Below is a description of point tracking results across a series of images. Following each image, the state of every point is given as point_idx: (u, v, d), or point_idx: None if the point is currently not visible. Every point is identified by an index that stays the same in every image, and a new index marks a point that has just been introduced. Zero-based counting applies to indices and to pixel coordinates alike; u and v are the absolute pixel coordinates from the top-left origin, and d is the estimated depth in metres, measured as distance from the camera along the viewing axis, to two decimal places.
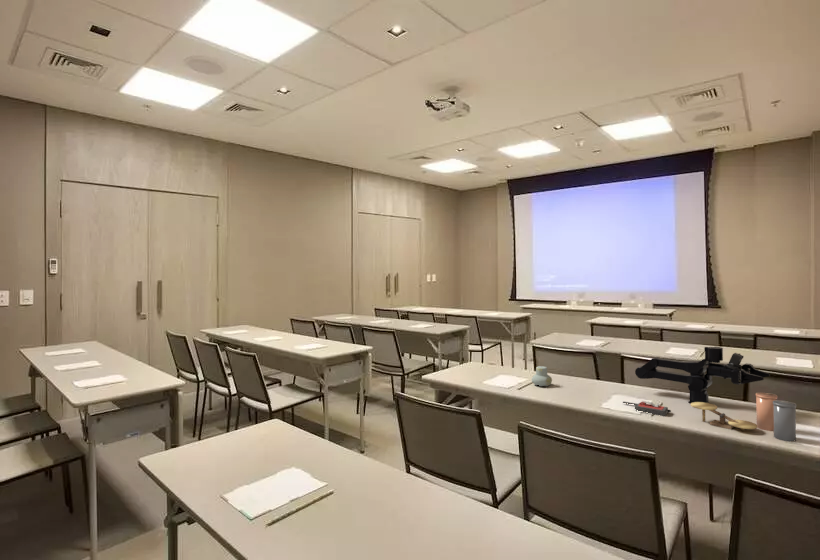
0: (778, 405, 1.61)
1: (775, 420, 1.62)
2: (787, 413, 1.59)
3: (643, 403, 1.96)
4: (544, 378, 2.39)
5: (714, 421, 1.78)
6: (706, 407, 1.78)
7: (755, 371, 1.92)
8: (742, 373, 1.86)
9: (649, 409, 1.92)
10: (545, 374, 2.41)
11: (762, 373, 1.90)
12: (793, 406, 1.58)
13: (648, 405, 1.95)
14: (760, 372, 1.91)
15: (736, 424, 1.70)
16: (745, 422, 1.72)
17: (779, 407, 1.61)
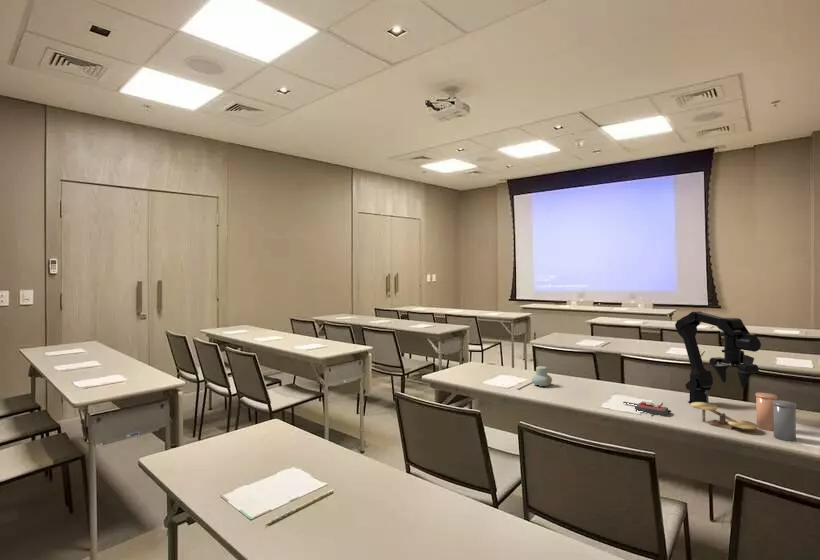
0: (778, 405, 1.61)
1: (775, 420, 1.62)
2: (787, 413, 1.59)
3: (643, 403, 1.96)
4: (544, 378, 2.39)
5: (714, 421, 1.78)
6: (706, 407, 1.78)
7: (724, 370, 1.92)
8: (752, 373, 1.80)
9: (649, 409, 1.92)
10: (545, 374, 2.41)
11: (724, 376, 1.92)
12: (793, 406, 1.58)
13: (648, 405, 1.95)
14: (725, 375, 1.92)
15: (736, 424, 1.70)
16: (745, 422, 1.72)
17: (779, 407, 1.61)
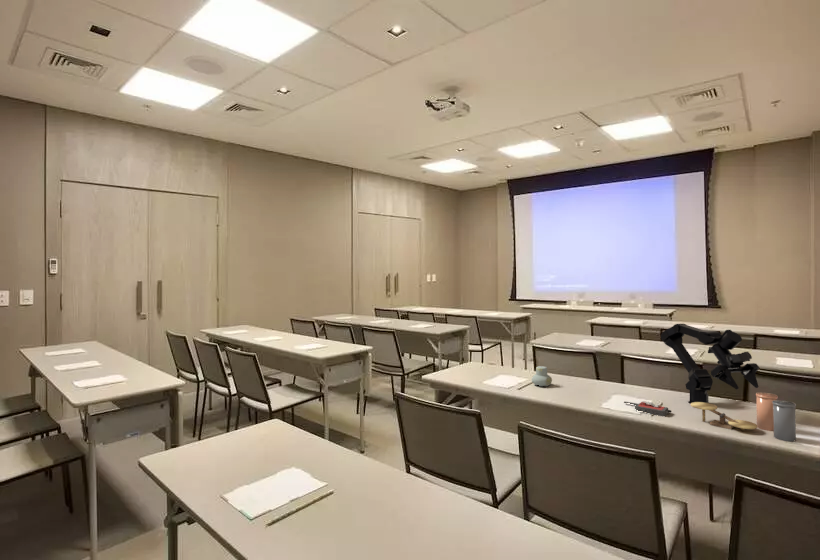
0: (778, 405, 1.61)
1: (775, 420, 1.62)
2: (787, 413, 1.59)
3: (643, 403, 1.96)
4: (544, 378, 2.39)
5: (714, 421, 1.78)
6: (706, 407, 1.78)
7: (751, 376, 1.84)
8: (724, 373, 1.82)
9: (649, 409, 1.92)
10: (545, 374, 2.41)
11: (754, 382, 1.82)
12: (793, 406, 1.59)
13: (648, 405, 1.95)
14: (753, 380, 1.83)
15: (736, 424, 1.70)
16: (745, 422, 1.72)
17: (778, 407, 1.61)
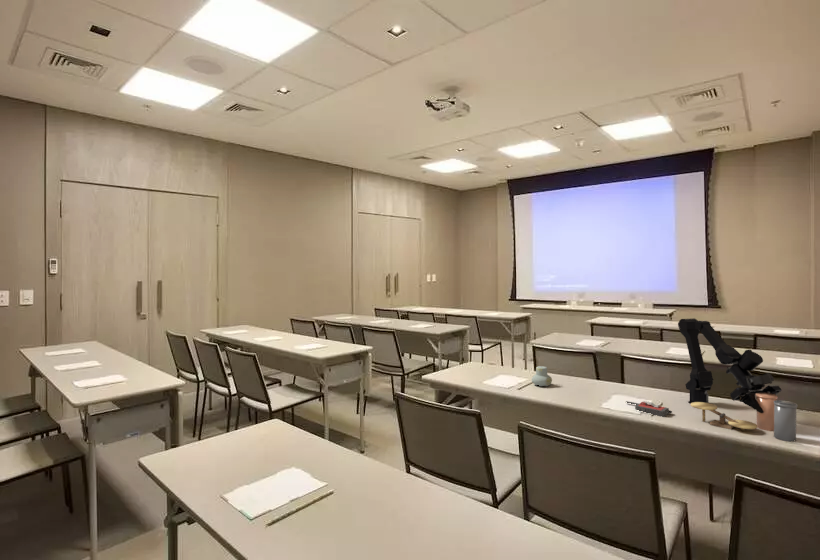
0: (779, 405, 1.60)
1: (776, 420, 1.62)
2: (788, 413, 1.59)
3: (643, 403, 1.96)
4: (544, 378, 2.39)
5: (714, 421, 1.78)
6: (706, 407, 1.78)
7: None
8: (748, 396, 1.73)
9: (648, 409, 1.92)
10: (545, 374, 2.41)
11: None
12: (794, 406, 1.58)
13: (648, 405, 1.95)
14: None
15: (736, 424, 1.70)
16: (745, 422, 1.72)
17: (780, 407, 1.60)
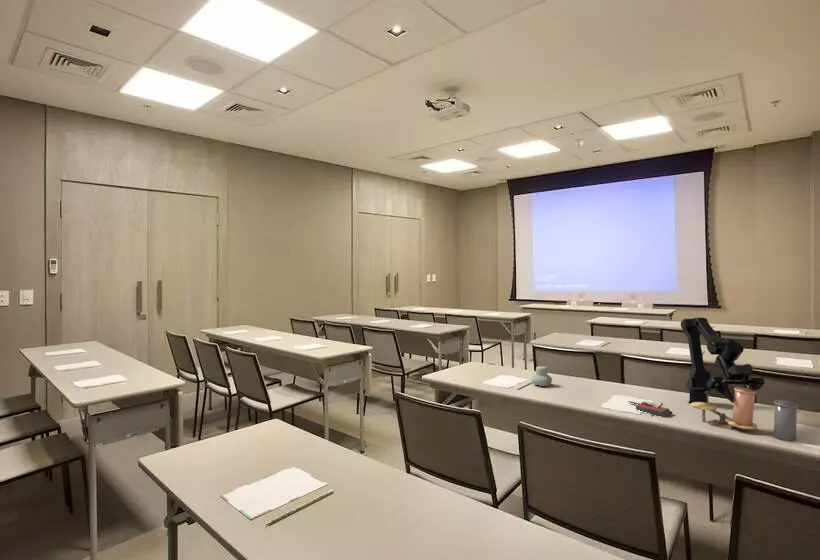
0: (780, 405, 1.60)
1: (776, 420, 1.62)
2: (789, 413, 1.59)
3: (644, 403, 1.96)
4: (544, 378, 2.39)
5: (714, 421, 1.78)
6: (706, 407, 1.78)
7: None
8: (720, 385, 1.74)
9: (648, 409, 1.92)
10: (545, 374, 2.41)
11: None
12: (795, 406, 1.58)
13: (649, 405, 1.95)
14: None
15: (736, 424, 1.70)
16: None
17: (781, 407, 1.60)
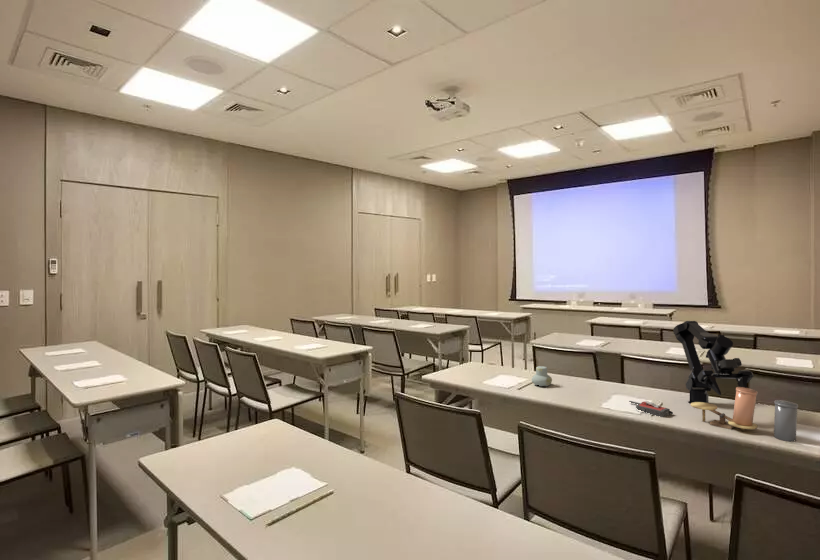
0: (781, 405, 1.60)
1: (776, 420, 1.62)
2: (789, 413, 1.59)
3: (644, 403, 1.96)
4: (544, 378, 2.39)
5: (714, 421, 1.78)
6: (706, 407, 1.78)
7: (742, 383, 1.79)
8: (708, 378, 1.81)
9: (648, 409, 1.92)
10: (545, 374, 2.41)
11: None
12: (795, 406, 1.58)
13: (649, 405, 1.95)
14: None
15: (736, 424, 1.70)
16: None
17: (781, 407, 1.60)
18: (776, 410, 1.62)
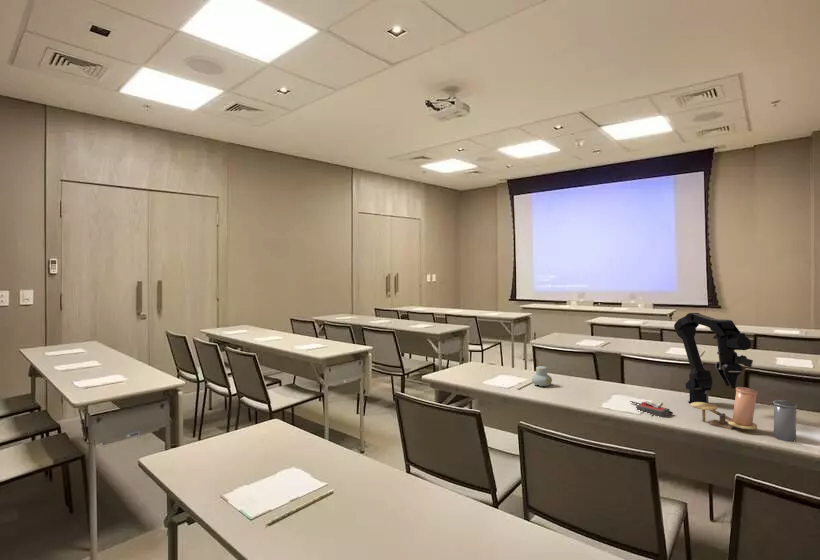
0: (780, 406, 1.60)
1: (776, 420, 1.61)
2: (789, 413, 1.58)
3: (644, 403, 1.96)
4: (544, 378, 2.39)
5: (714, 421, 1.78)
6: (706, 407, 1.78)
7: None
8: (737, 373, 1.79)
9: (648, 409, 1.92)
10: (545, 374, 2.41)
11: (728, 380, 1.90)
12: (795, 406, 1.58)
13: (649, 405, 1.95)
14: None
15: (736, 424, 1.70)
16: None
17: (780, 407, 1.60)
18: (775, 410, 1.62)
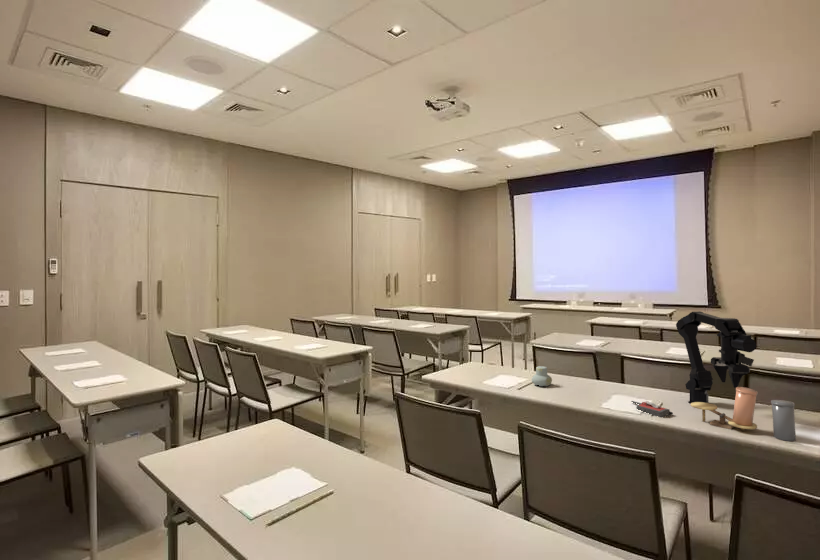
0: (778, 405, 1.61)
1: (775, 420, 1.62)
2: (787, 412, 1.59)
3: (644, 403, 1.96)
4: (544, 378, 2.39)
5: (714, 421, 1.78)
6: (706, 407, 1.78)
7: (724, 370, 1.92)
8: (743, 373, 1.80)
9: (648, 409, 1.92)
10: (545, 374, 2.41)
11: (724, 376, 1.92)
12: (792, 405, 1.59)
13: (650, 405, 1.95)
14: (725, 375, 1.92)
15: (736, 424, 1.70)
16: None
17: (779, 406, 1.61)
18: (774, 410, 1.62)
